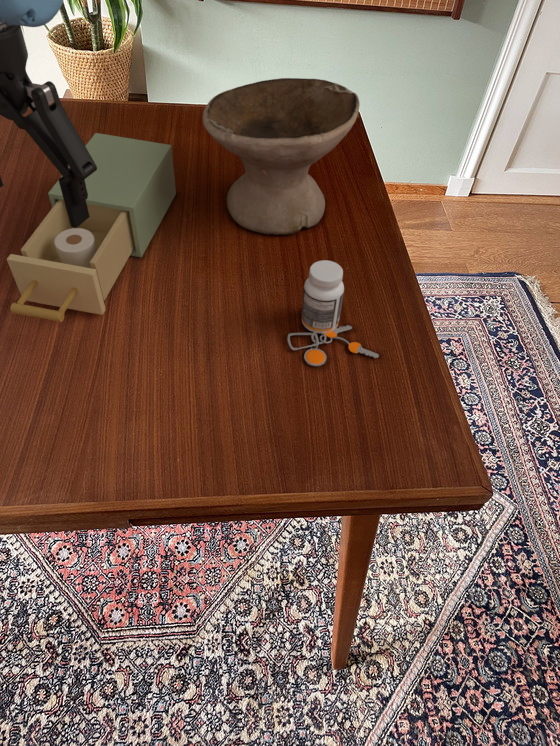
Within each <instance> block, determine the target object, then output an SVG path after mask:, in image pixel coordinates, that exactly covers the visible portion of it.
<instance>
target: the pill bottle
mask: <svg viewBox="0 0 560 746" xmlns="http://www.w3.org/2000/svg"><path fill="white" fill-rule="evenodd" d="M343 276H344V269H343V268H342V266H341V265H339V263H337V262H335V261H332V260H326V259H324V260H318V261H316V262H315V261H314V262H313V263H312V264H311V266H309V270H308V277H306V280H305V282H304V285H303V295H302V306H301V323H302V325H303V327H304V328H305V329H307V330H308V331H310V332H311V333H314V332H316V331H317V332H323V333H327V332H331V331H333V330H334V329H335V328H338V326H339V323H340V318H341V313H342V307H343V299H344V294H345V285H344V281H343Z"/></svg>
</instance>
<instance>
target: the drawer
mask: <svg viewBox="0 0 560 746" xmlns="http://www.w3.org/2000/svg"><path fill="white" fill-rule="evenodd" d="M87 207H88V212H89V216H90V217H89V218H88V219H87V220H85V221H84V222H83V223H82V224H81V225H80V226H78V227H77V228H82V229H86V230H88V231H90V232H91V233H92V234H93V236H94V240H95V244H96V248H97V251H96V253H95V255H94V256H93V258H92V259H91V261H90V266H91V268H86V267H81V266H75V265H69V264H64V263H60V260H59V256H58V253H57V250H56V247H55V243H54V241H55V238H56V236H57V235H58V234H60V233H61V232H63V231H65V230H68V229H72V228H74V227H71V225H70V221H69V217H68V213H67V210H66V206H65V202H64V200H60V199H59V200H58V201H57V203H56V204H55V205H54V207H53V208H52V207H51V209H50V210H49V212H48V213H47V214H46V216H45V217H44V218H43V219H42V220H41V222H40V223H39V225H38V226H37V227H36V229H35V230H34V232H33V233H32V234H31V235H30V237H29V238H28V239H27V241H26V242H25V243H24V245H23V246H22V247H21V248H20V252H21V255H19V254H13V253H10V254H9V255H8V257H7V258H6V263H7V264H8V266H9V269H10V271H11V274H12V277H13V280H14V282H15V284H16V286H17V289H18V292H19V294H20V298H19V299H18V300H17V301H16V302H12V303H11V305H10V313H12V314H15V315H21V316H25V317H26V316H27V317H33V318H37V319H42V320H48V321H54V322H59V323H62V322H64V320H65V313H66V311H67V309H69V310H74V311H80V312H85V313H90V314H96V315H101V316H103V315H104V313H105V312H106V305H105V300H106V299H107V297H108V295H109V293H110V292H111V290H112V288H113V286H114V285H115V283H116V281H117V279H118V277H119V276H120V274H121V272H122V270H123V268H124V267H125V265H126V263H127V261H128V259H129V258H130V254H131V253H132V251H133V249H134V247H135V242H134V237H133V231H132V225H131V219H130V214H129V211H125V210H119V209H113V208H107V207H101V206H96V205H90V204H87ZM26 302H30V303H37V304H41V305H47V306H51V307H52V306H53V307H58V308H59V309H58V310H55V309H49V308H46V307H45V308H44V307H38V306H34V305H27V304H25V303H26Z"/></svg>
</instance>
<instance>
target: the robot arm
mask: <svg viewBox="0 0 560 746" xmlns="http://www.w3.org/2000/svg"><path fill="white" fill-rule="evenodd" d="M63 4H64V0H0V116H1V117H3V118H5V119H6V120H10V121H13V123H14V124H15V126H17V128H18V129H20V130H23V131H26V133H27V134H28V135H29V137H30V138H31V139H32V140H33V141H34V143H35V144H36V145H37V147H38V148H39V149H40V150H41V151H42V153H43V154H44V155H45V156H46V158H47V159H48V160H49V161H50V163H52V165H53V166H54V167H55V168H56V170H57V172H59V173H60V175H61V176H62V177H61V176H60V177H61V178H60V177H59V178H58V180H59V184H60V187H61V191H62V195H63V199H64V202H65V206H66V210H67V213H68V217H69V221H70V225H71V227H74V228H77V227H78V226H80V225H81V224H82V223H83V222H84V221H85V220H87V219H88V218H89V217H90V216H89V212H88V207H87V203H86V199H87V198H88V193H87V188H86V184H85V180H84V179H86V178H87V177H88V176H90V175H91V174H92V173H93V172H95V171H96V170H97V166H96V164H95V162H94V161H93V159H92V157H91V155H90V154H89V152H88V150H87V148H86V147H85V146H86V145H85V144H84V142H83V140H82V138H81V136H80V134H79V132H78V131H77V130H76V129H77V128H76V127H75V126H74V123H73V122H72V120H71V119H70V117H69V116H68V114H67V112H66V110H65V108H64V106H63V105H62V102H61V99H60V96H59V93H58V90H57V87H56V85H55V83H53V81H50V80H48V81H45V82H44V83H42V84H39V83H33V81H32V80H31V79H30V77H29V74H28V73H27V70H26V69H27V63H28V59H29V51H28V49H27V45H26V41H25V37H24V33H23V28H22V27H27V28H39V27H42V26H45V25H47V24H49V23H51V21H52V20H53V19H54V18H55V17H56V16H57V14H58V13H59V11H60V10H61V8H62V5H63ZM29 109H30V110H31V111H32V112H30V113H29V114H27V115H26V116H24V115H25V114H26V113H27V112H28V110H29ZM69 166H70V168H68V167H69ZM58 180H57V181H58ZM3 186H4V183H3V180H2V177H1V176H0V188H2V187H3Z"/></svg>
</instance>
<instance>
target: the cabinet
mask: <svg viewBox="0 0 560 746" xmlns="http://www.w3.org/2000/svg"><path fill="white" fill-rule="evenodd" d="M85 147H86V148H87V150H88V152H89V154H90V155H91V157H92V159H93V161H94V162H95V164H96V166H97V170H96V171H95V172H93V173H92V174H91V175H90V176H88V177H87V178H86V179H84V180H85V184H86V188H87V193H88V198H87V199H86V203H87V204H90V205H96V206H101V207H107V208H113V209H119V210H125V211H129V214H130V219H131V225H132V231H133V237H134V242H135V247H134V249H133V251H132V253H131V254H130V256H131V257H136V258H143V256H144V254H145V252H146V250H147V248H148V246H149V245H150V242H151V241H152V239H153V237H154V236H155V234H156V232H157V230H158V228H159V226H160V225H161V223H162V221H163V218H164V217H165V215H166V213H167V211H168V210H169V208H170V206H171V204H172V202H173V201H174V199H175V196H176V195H177V190H176V189H177V188H176V179H175V169H174V157H173V147H172V144H169V143H168V144H167V143H162V142H161V143H160V142H155V141H150V140H149V141H148V140H142V139H136V138H130V137H124V136H118V135H112V134H106V133H105V134H103V133H98V132H95V133H94V134H93V136H92V137H91V138H90V139H89V141H88V142H87V143H86V145H85ZM68 168H70V166H69V165H68ZM61 177H62V175H61V176H60V177H59V179H60V178H61ZM47 195H48V199H49V202H50V206H51V209H52V208H53V207H54V205H55V204H56V203H57V201H58V200H59V199H60V200H64V199H63V195H62V191H61V187H60V184H59V180H57V181H56V182H55V184H54V185H53V186H52V187H51V188H50V190H49V191H48V193H47ZM130 256H129V257H130Z"/></svg>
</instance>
